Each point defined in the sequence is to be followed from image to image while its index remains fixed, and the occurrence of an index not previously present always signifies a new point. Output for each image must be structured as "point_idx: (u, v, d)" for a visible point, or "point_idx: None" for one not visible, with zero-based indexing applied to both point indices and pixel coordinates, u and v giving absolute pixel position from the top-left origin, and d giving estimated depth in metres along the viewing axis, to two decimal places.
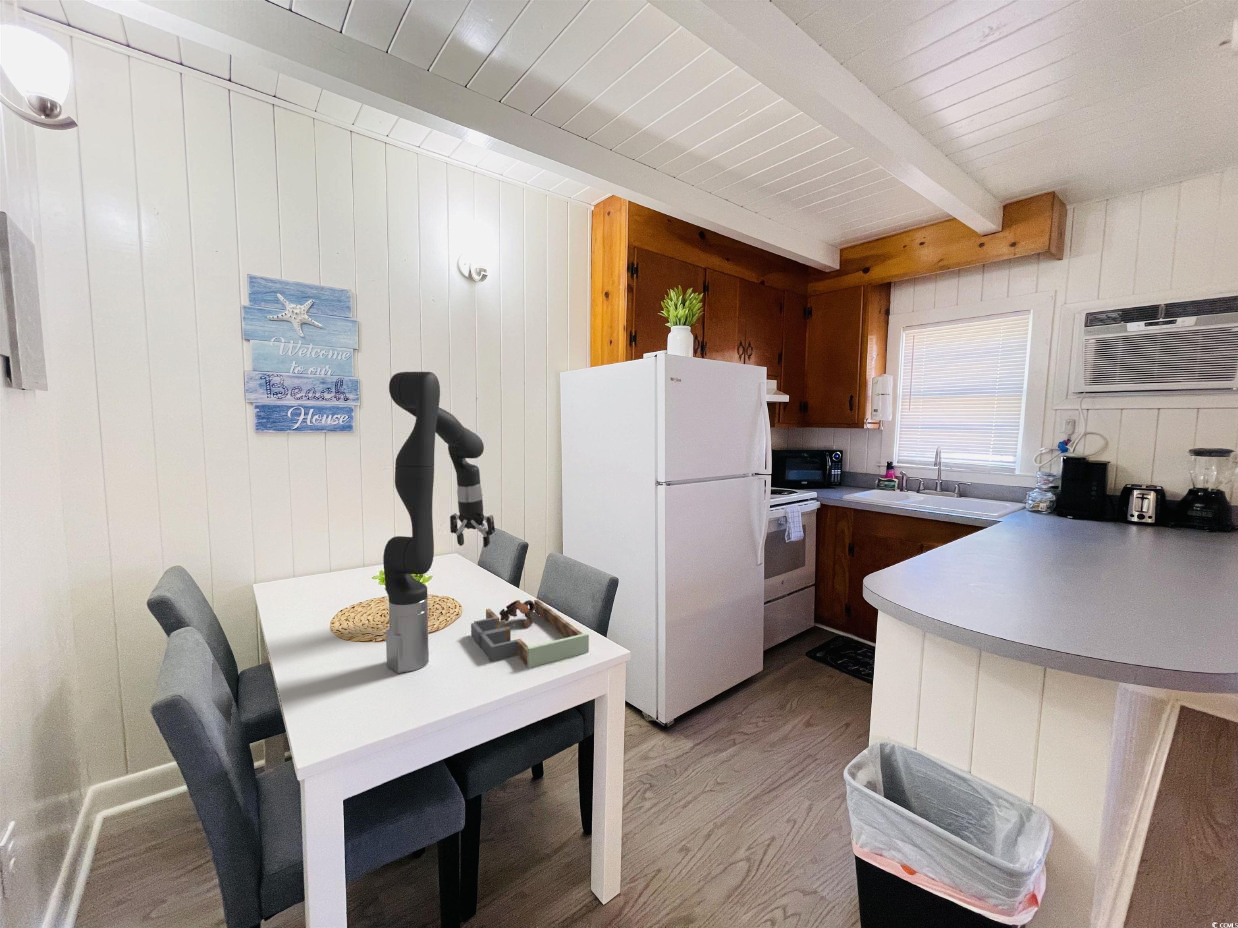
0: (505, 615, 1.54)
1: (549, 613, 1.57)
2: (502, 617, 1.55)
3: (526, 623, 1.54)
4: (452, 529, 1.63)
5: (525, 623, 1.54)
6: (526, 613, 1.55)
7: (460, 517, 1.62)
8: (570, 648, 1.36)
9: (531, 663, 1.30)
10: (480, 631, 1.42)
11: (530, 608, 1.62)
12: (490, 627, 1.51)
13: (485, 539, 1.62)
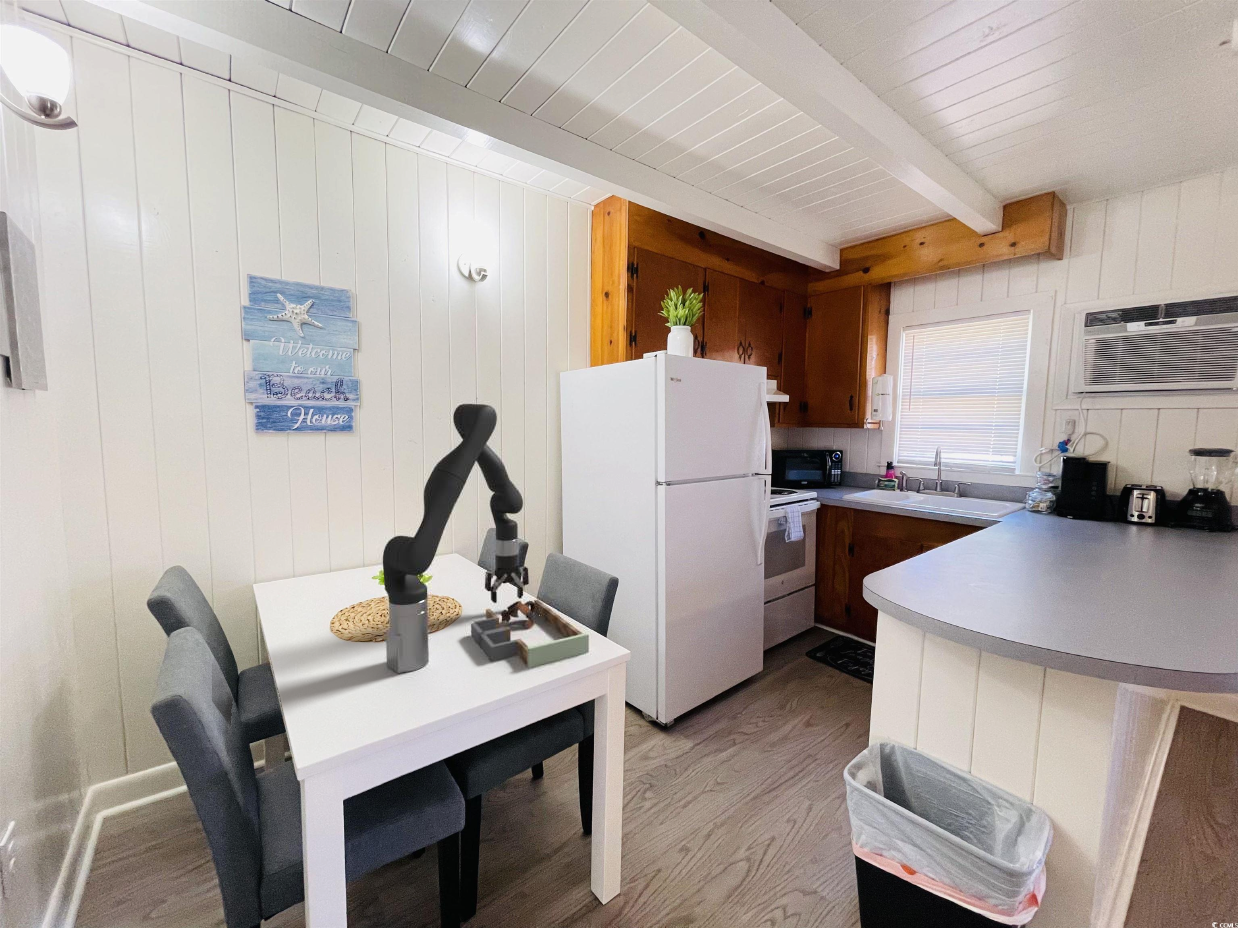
0: (506, 616, 1.53)
1: (549, 613, 1.57)
2: (503, 618, 1.54)
3: (527, 624, 1.54)
4: (489, 587, 1.63)
5: (526, 624, 1.54)
6: (527, 614, 1.55)
7: (498, 573, 1.64)
8: (570, 648, 1.36)
9: (531, 663, 1.30)
10: (480, 631, 1.42)
11: (531, 609, 1.61)
12: (490, 627, 1.51)
13: (521, 590, 1.69)
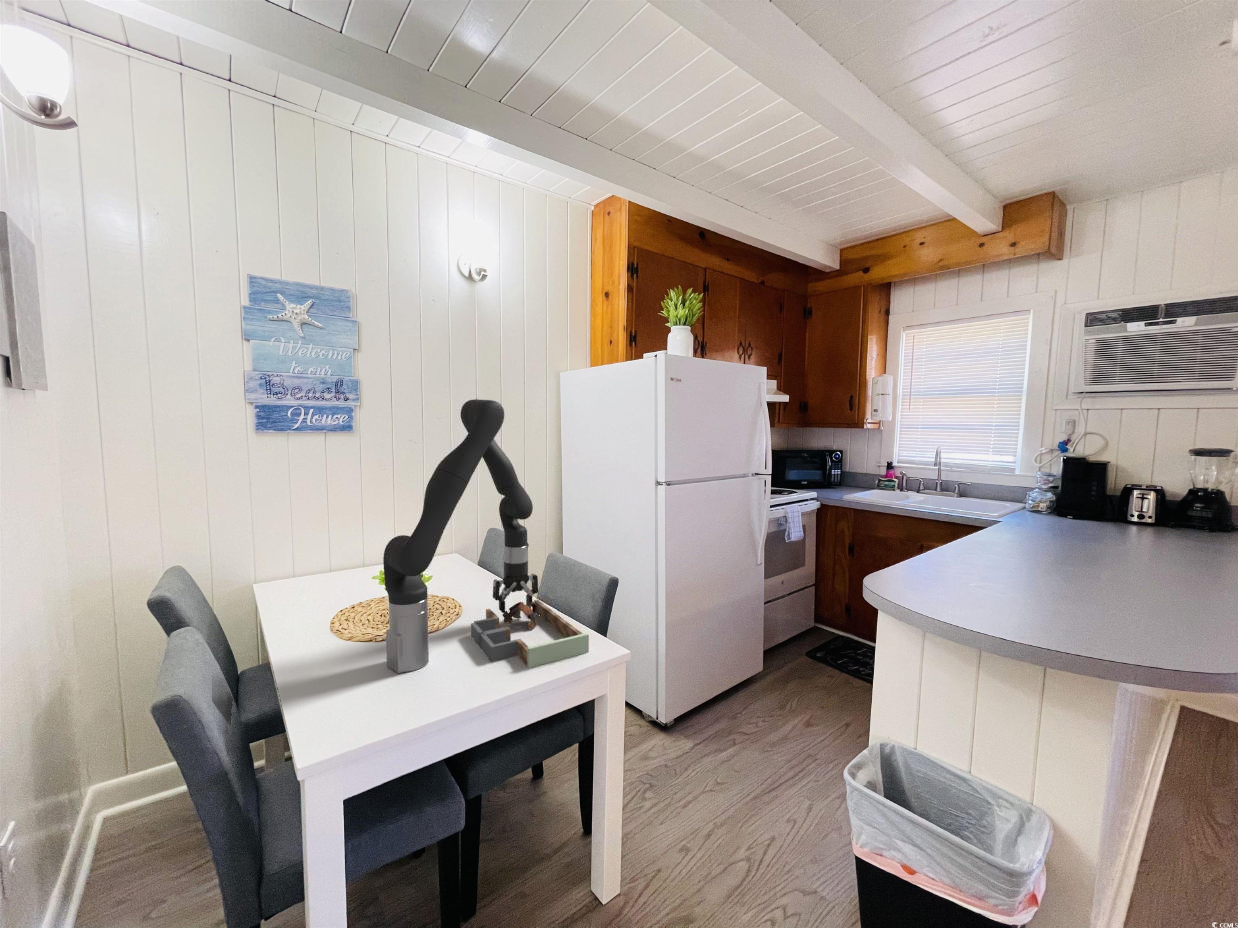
0: (509, 617, 1.52)
1: (549, 613, 1.57)
2: (506, 619, 1.53)
3: (530, 624, 1.53)
4: (497, 596, 1.55)
5: (529, 625, 1.53)
6: (530, 615, 1.54)
7: (507, 581, 1.57)
8: (570, 648, 1.36)
9: (531, 663, 1.30)
10: (480, 631, 1.42)
11: (533, 610, 1.60)
12: (490, 627, 1.51)
13: (530, 599, 1.62)
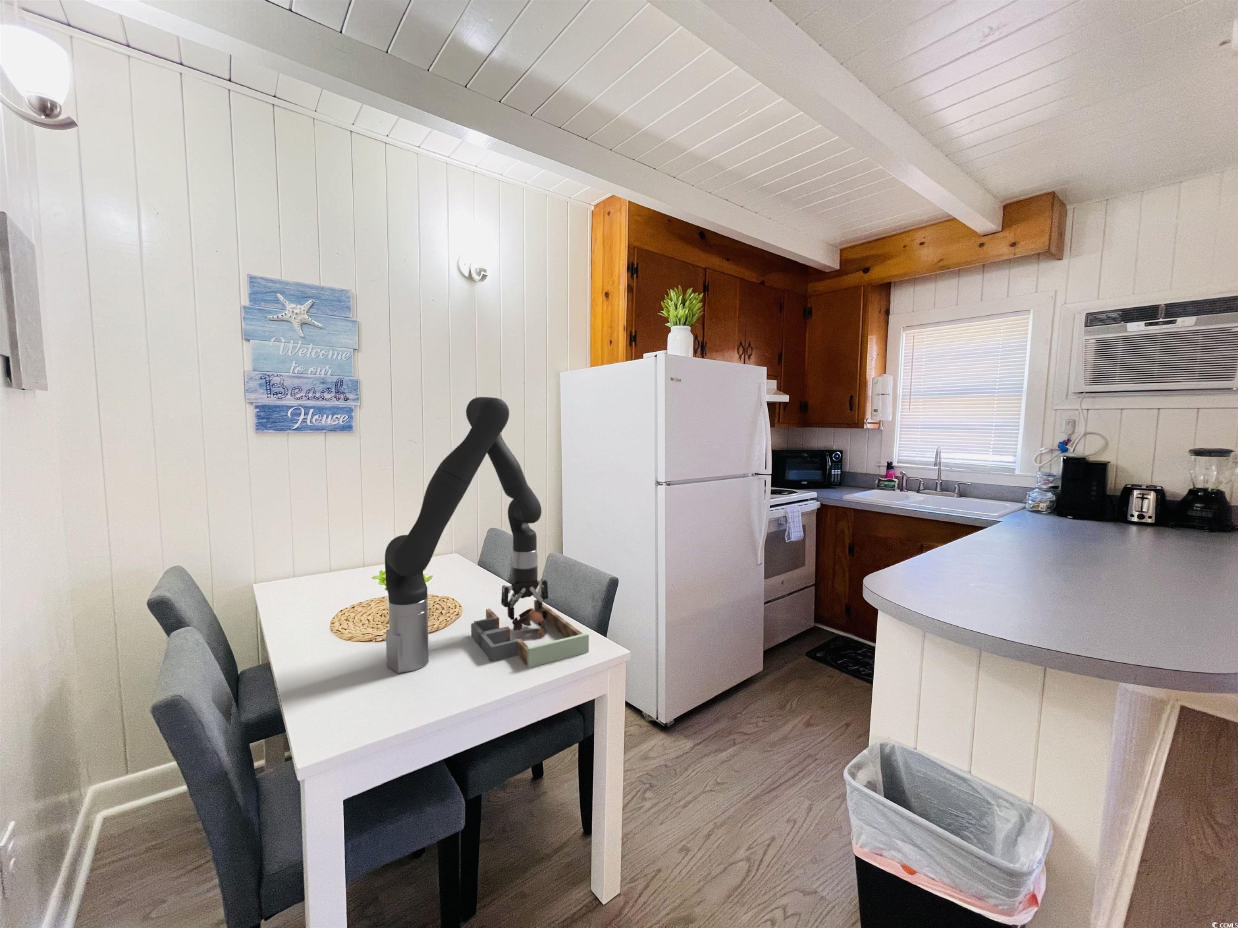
0: (518, 624, 1.47)
1: (549, 613, 1.57)
2: (515, 626, 1.48)
3: (540, 632, 1.47)
4: (506, 603, 1.50)
5: (539, 633, 1.47)
6: (540, 622, 1.48)
7: (516, 587, 1.51)
8: (570, 648, 1.36)
9: (531, 663, 1.30)
10: (480, 631, 1.42)
11: (544, 616, 1.55)
12: (490, 627, 1.51)
13: (540, 605, 1.56)
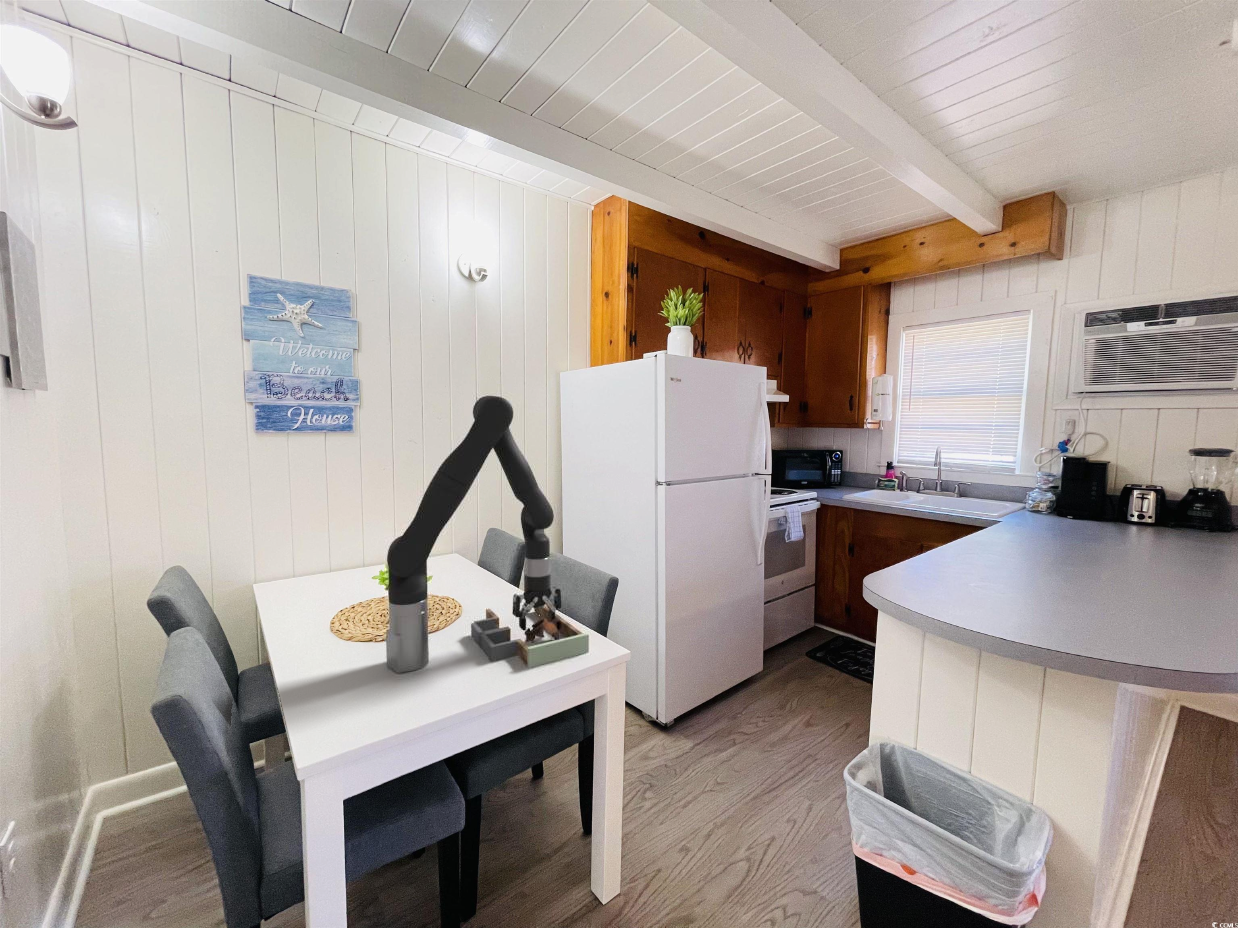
0: (531, 636, 1.39)
1: None
2: (528, 638, 1.40)
3: None
4: (518, 612, 1.42)
5: None
6: (554, 634, 1.41)
7: (528, 596, 1.43)
8: (570, 648, 1.36)
9: (531, 663, 1.30)
10: (480, 631, 1.42)
11: (558, 627, 1.47)
12: (490, 627, 1.51)
13: (553, 615, 1.48)
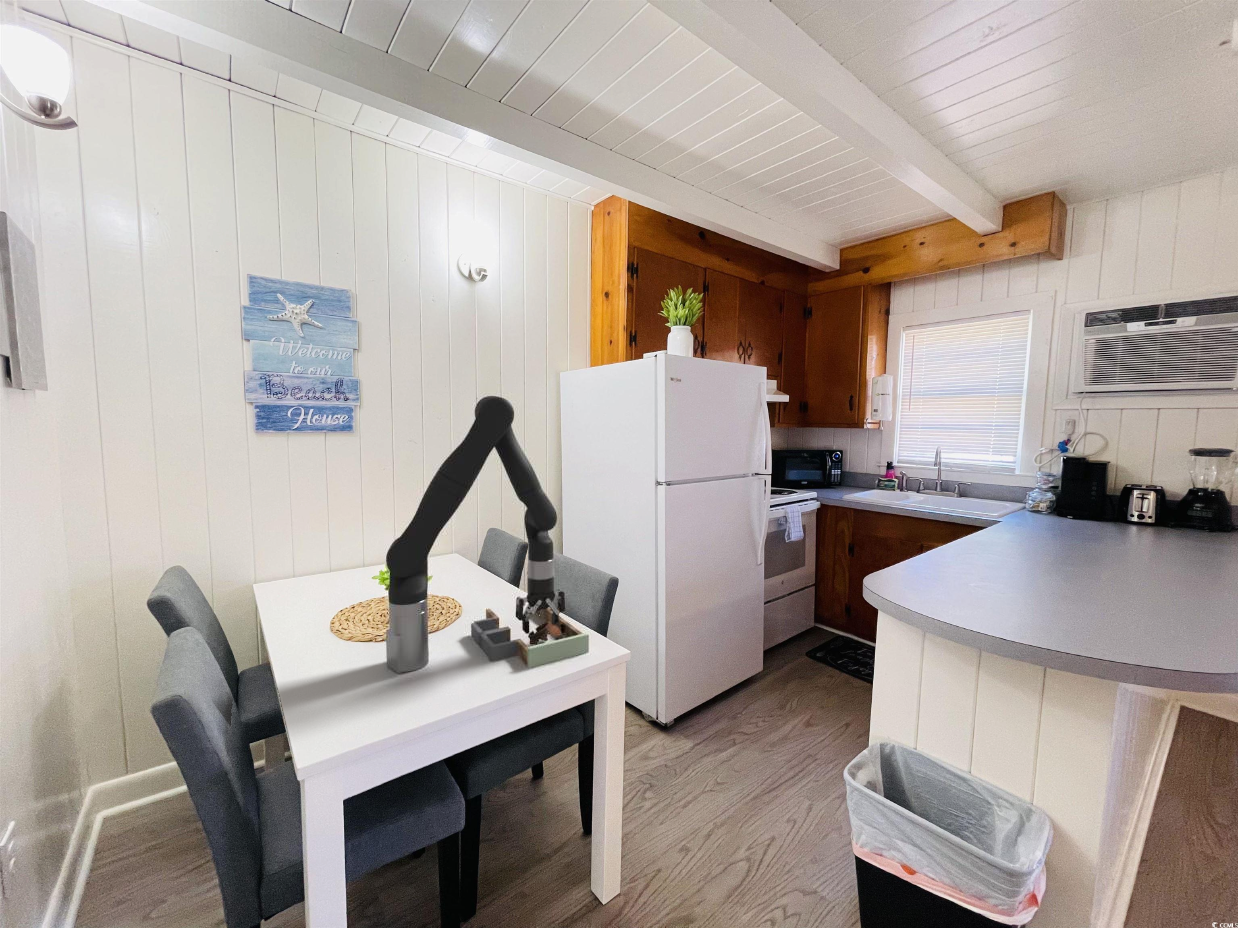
0: (535, 639, 1.37)
1: (549, 613, 1.57)
2: (531, 641, 1.38)
3: None
4: (521, 616, 1.40)
5: None
6: (558, 637, 1.39)
7: (531, 599, 1.41)
8: (570, 648, 1.36)
9: (531, 663, 1.30)
10: (480, 631, 1.42)
11: (562, 630, 1.45)
12: (490, 627, 1.51)
13: (556, 618, 1.46)
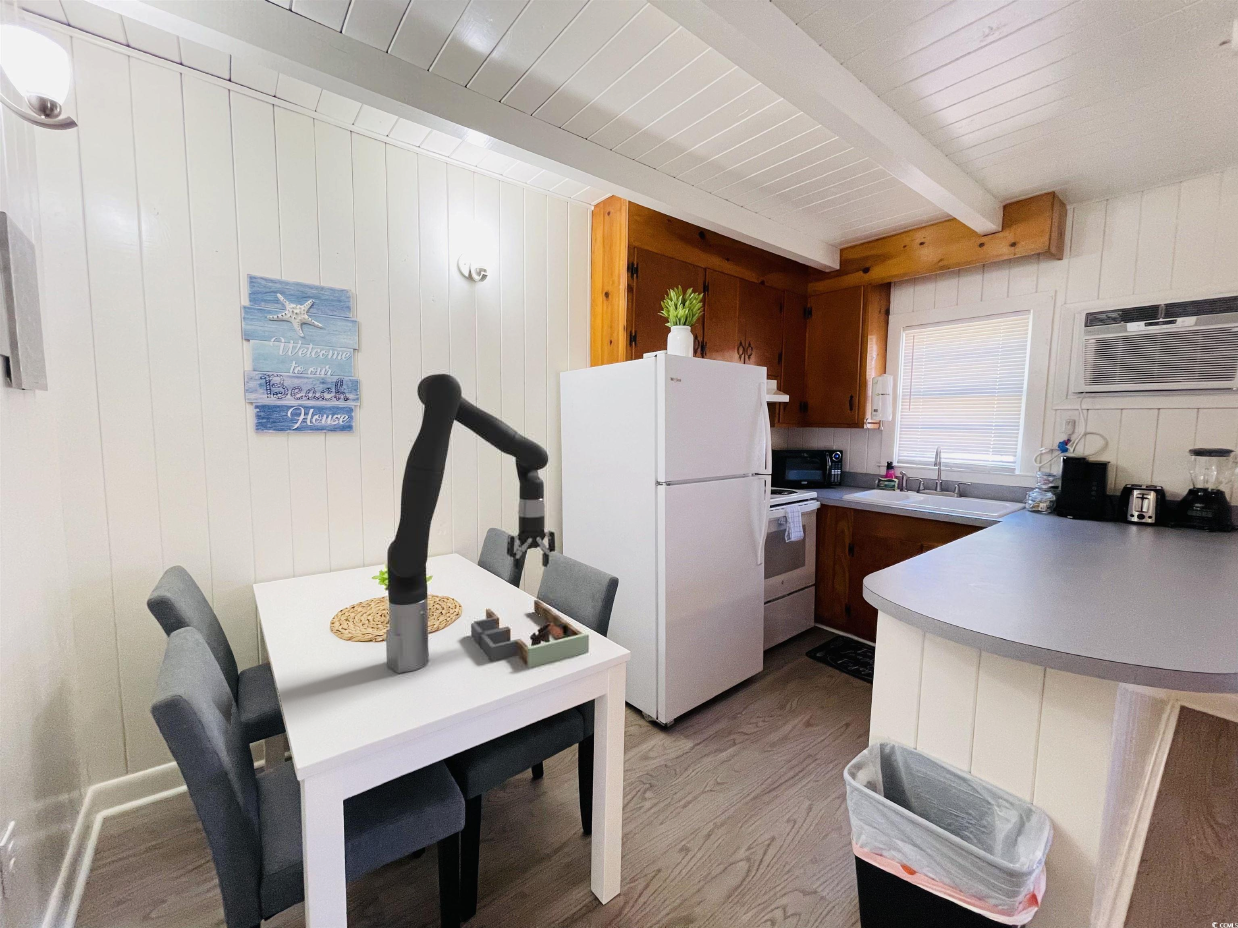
0: (537, 641, 1.36)
1: (549, 613, 1.57)
2: (533, 643, 1.37)
3: None
4: (512, 552, 1.44)
5: None
6: (560, 638, 1.38)
7: (522, 537, 1.45)
8: (570, 648, 1.36)
9: (531, 663, 1.30)
10: (480, 631, 1.42)
11: (564, 632, 1.44)
12: (490, 627, 1.51)
13: (547, 557, 1.50)
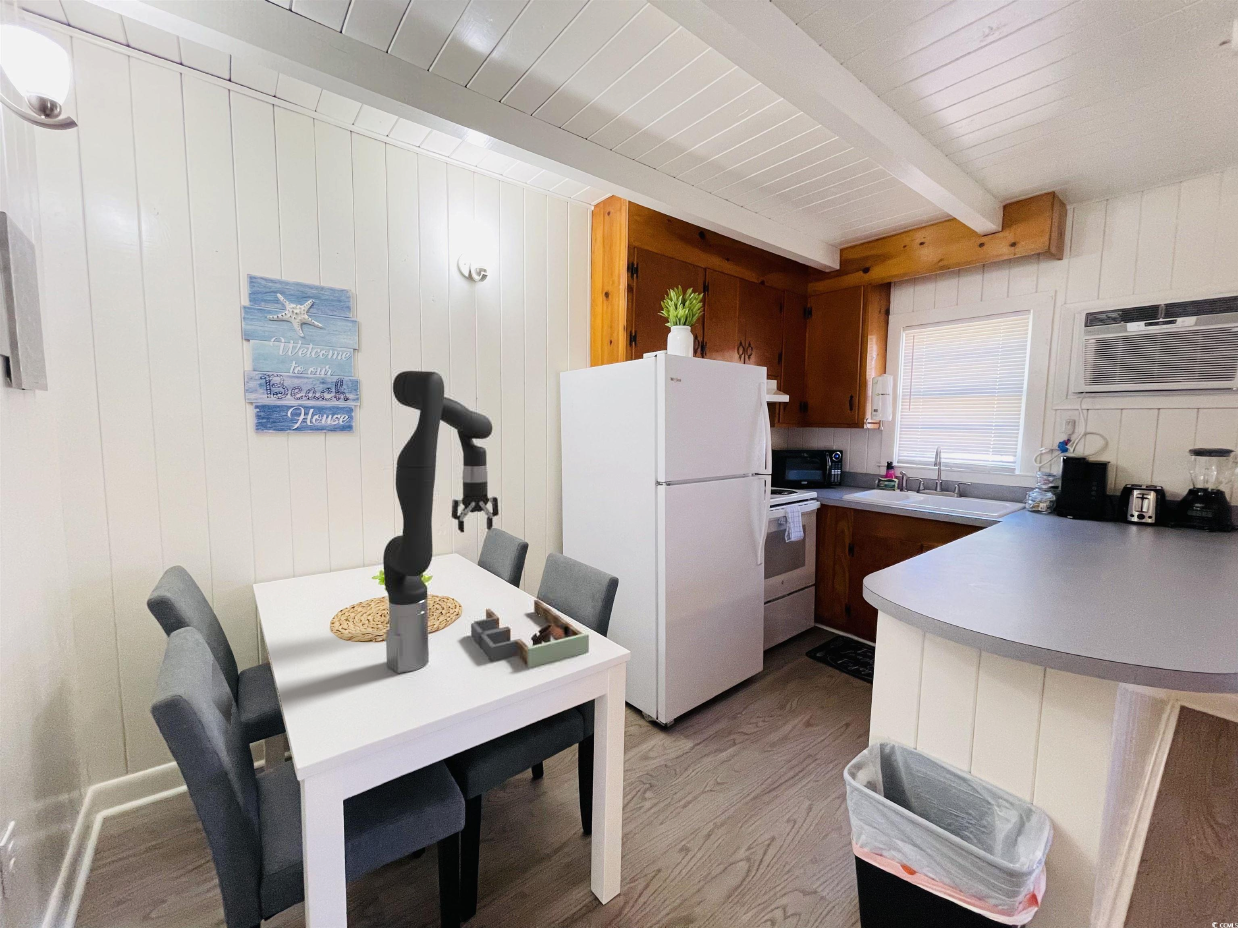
0: (538, 642, 1.36)
1: (549, 613, 1.57)
2: (534, 644, 1.37)
3: None
4: (456, 515, 1.56)
5: None
6: None
7: (465, 501, 1.57)
8: (570, 648, 1.36)
9: (531, 663, 1.30)
10: (480, 631, 1.42)
11: (565, 632, 1.43)
12: (490, 627, 1.51)
13: (490, 521, 1.62)
